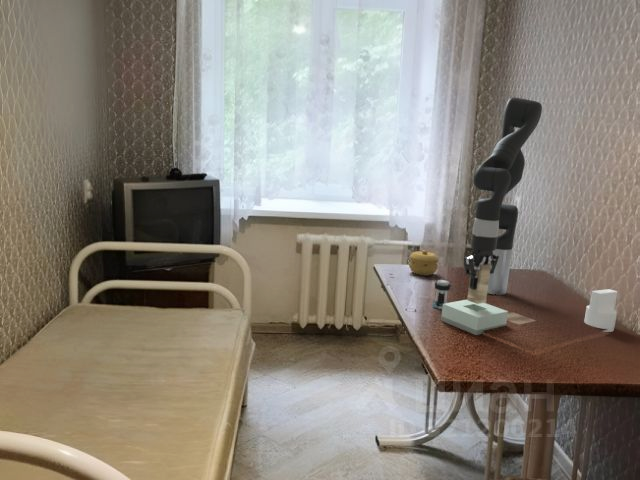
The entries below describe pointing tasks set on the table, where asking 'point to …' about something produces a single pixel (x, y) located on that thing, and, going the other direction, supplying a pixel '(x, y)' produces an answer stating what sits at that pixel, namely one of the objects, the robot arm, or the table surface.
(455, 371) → the table surface
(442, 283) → the push button
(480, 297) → the pin
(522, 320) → the coaster
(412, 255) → the pot
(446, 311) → the socket block
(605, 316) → the cylinder with rectangular tab
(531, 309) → the table surface
